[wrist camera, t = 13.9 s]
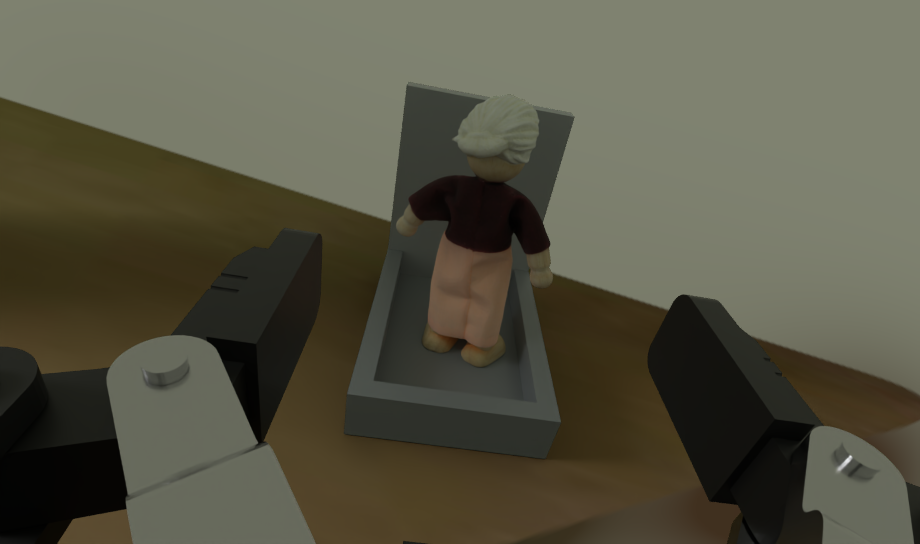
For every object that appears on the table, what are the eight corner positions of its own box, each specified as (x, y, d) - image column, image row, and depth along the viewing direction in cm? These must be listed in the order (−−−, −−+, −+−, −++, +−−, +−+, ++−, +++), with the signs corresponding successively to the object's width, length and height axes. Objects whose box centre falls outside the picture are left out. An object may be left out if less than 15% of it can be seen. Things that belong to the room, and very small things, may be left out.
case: (344, 433, 20) (364, 163, 14) (386, 273, 31) (408, 81, 25) (545, 459, 21) (650, 212, 15) (517, 294, 32) (571, 112, 25)
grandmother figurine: (524, 335, 27) (598, 106, 20) (521, 382, 23) (608, 127, 17) (393, 302, 27) (423, 67, 21) (371, 344, 24) (399, 81, 17)
